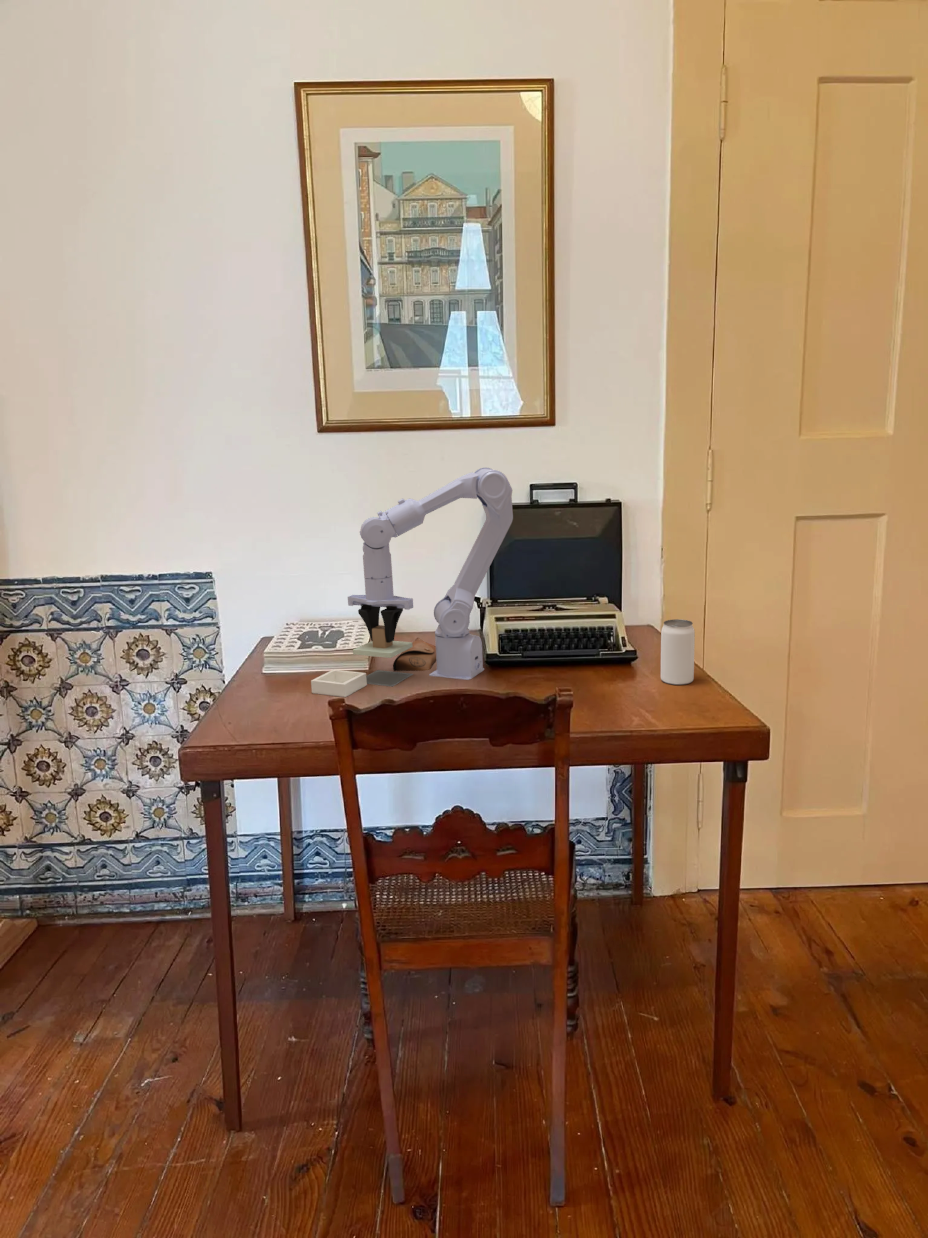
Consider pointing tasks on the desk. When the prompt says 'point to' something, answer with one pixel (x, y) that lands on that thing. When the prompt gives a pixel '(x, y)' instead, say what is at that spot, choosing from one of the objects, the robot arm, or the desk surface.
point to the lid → (382, 645)
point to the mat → (386, 678)
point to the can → (677, 652)
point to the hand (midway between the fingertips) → (382, 640)
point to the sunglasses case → (416, 657)
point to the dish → (338, 683)
